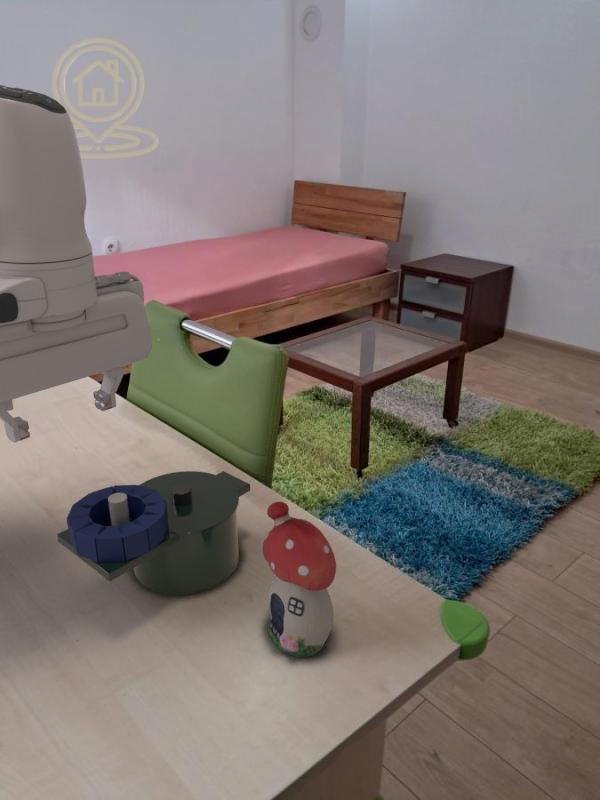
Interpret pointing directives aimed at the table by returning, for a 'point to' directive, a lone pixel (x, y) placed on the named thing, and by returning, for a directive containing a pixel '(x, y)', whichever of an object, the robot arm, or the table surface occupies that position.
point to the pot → (182, 534)
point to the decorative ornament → (298, 583)
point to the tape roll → (121, 539)
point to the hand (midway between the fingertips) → (64, 422)
